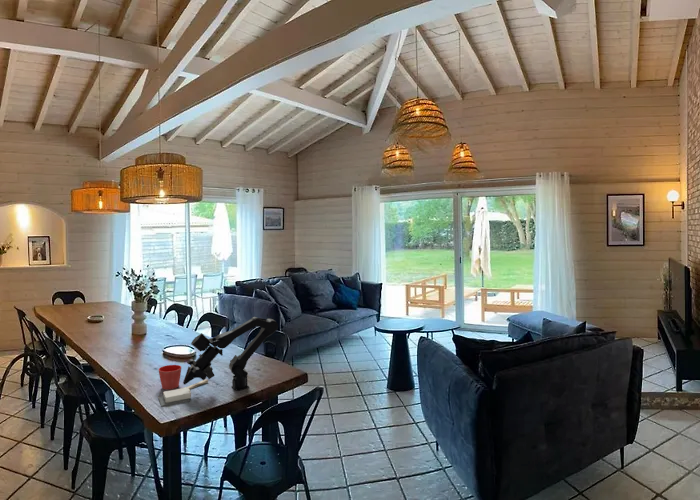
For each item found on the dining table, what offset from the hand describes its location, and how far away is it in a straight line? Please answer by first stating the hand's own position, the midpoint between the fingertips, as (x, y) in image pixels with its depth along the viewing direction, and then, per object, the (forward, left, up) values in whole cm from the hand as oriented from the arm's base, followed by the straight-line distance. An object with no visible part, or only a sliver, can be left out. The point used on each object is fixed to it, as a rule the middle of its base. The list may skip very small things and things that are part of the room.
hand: (183, 383), depth 208 cm
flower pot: (-1, -18, -7) cm, 19 cm away
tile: (-2, +1, -5) cm, 5 cm away
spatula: (-8, -9, -6) cm, 14 cm away
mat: (+4, -1, -7) cm, 8 cm away
